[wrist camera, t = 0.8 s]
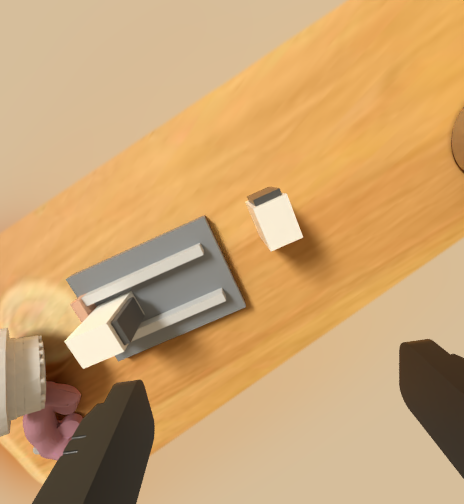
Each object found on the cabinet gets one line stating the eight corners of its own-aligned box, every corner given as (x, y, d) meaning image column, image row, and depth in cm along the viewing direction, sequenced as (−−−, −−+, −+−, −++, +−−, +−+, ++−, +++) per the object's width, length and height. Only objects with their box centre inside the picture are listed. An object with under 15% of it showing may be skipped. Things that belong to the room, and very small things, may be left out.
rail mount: (204, 215, 30) (199, 228, 22) (244, 301, 33) (254, 342, 25) (72, 274, 31) (20, 309, 23) (122, 353, 34) (92, 409, 26)
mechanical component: (-12, 310, 28) (-19, 410, 22) (42, 304, 30) (48, 391, 24) (-4, 364, 33) (-8, 456, 27) (41, 355, 36) (46, 437, 30)
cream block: (284, 224, 31) (303, 237, 24) (259, 235, 31) (270, 251, 24) (268, 185, 30) (284, 186, 23) (242, 196, 30) (250, 202, 23)
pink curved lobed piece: (88, 369, 35) (25, 377, 33) (76, 398, 30) (3, 408, 29) (99, 433, 37) (41, 442, 36) (89, 467, 33) (22, 479, 32)
